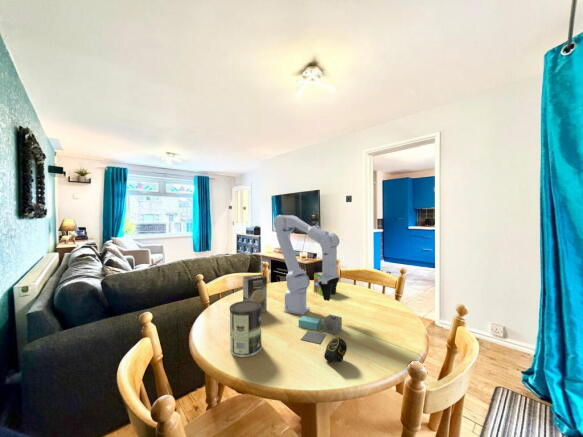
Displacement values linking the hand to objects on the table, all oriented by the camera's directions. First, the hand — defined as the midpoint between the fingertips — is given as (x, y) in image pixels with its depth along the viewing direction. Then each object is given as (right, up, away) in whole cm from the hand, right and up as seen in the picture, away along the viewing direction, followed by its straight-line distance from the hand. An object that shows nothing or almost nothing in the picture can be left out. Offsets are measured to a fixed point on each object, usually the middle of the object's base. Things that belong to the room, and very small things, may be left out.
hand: (329, 297), depth 99 cm
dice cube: (0, -11, -7) cm, 13 cm away
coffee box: (-32, -11, +11) cm, 36 cm away
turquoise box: (-8, -10, -4) cm, 14 cm away
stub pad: (-8, -11, -12) cm, 18 cm away
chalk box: (+3, -10, +35) cm, 37 cm away
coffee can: (-30, -11, -19) cm, 37 cm away
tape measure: (-2, -11, -27) cm, 30 cm away
